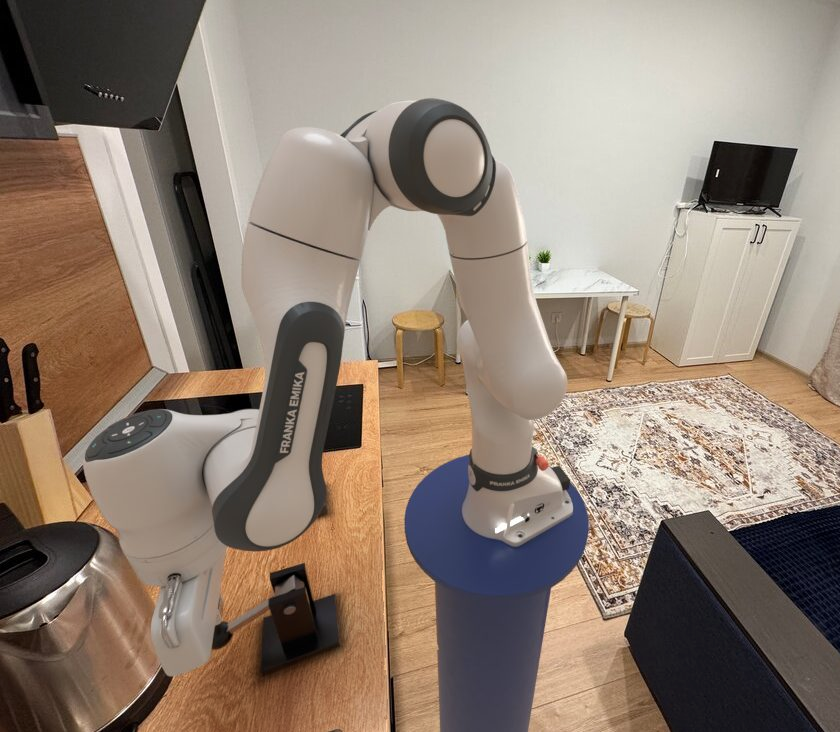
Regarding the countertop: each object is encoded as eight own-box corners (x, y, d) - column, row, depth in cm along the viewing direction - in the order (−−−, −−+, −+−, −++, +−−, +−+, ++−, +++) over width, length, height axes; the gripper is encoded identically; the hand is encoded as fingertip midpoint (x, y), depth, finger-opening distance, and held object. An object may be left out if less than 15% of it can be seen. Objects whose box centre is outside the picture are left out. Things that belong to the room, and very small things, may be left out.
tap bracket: (262, 676, 57) (241, 624, 51) (265, 622, 63) (247, 570, 58) (340, 646, 61) (329, 594, 55) (335, 598, 67) (325, 547, 62)
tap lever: (214, 658, 55) (196, 650, 53) (217, 635, 57) (200, 626, 56) (306, 600, 57) (292, 590, 55) (306, 580, 60) (292, 570, 58)
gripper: (198, 614, 40) (235, 688, 47) (224, 477, 57) (249, 547, 63) (115, 641, 38) (167, 716, 44) (167, 490, 54) (199, 561, 61)
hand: (215, 615), depth 54 cm, fingers closed
